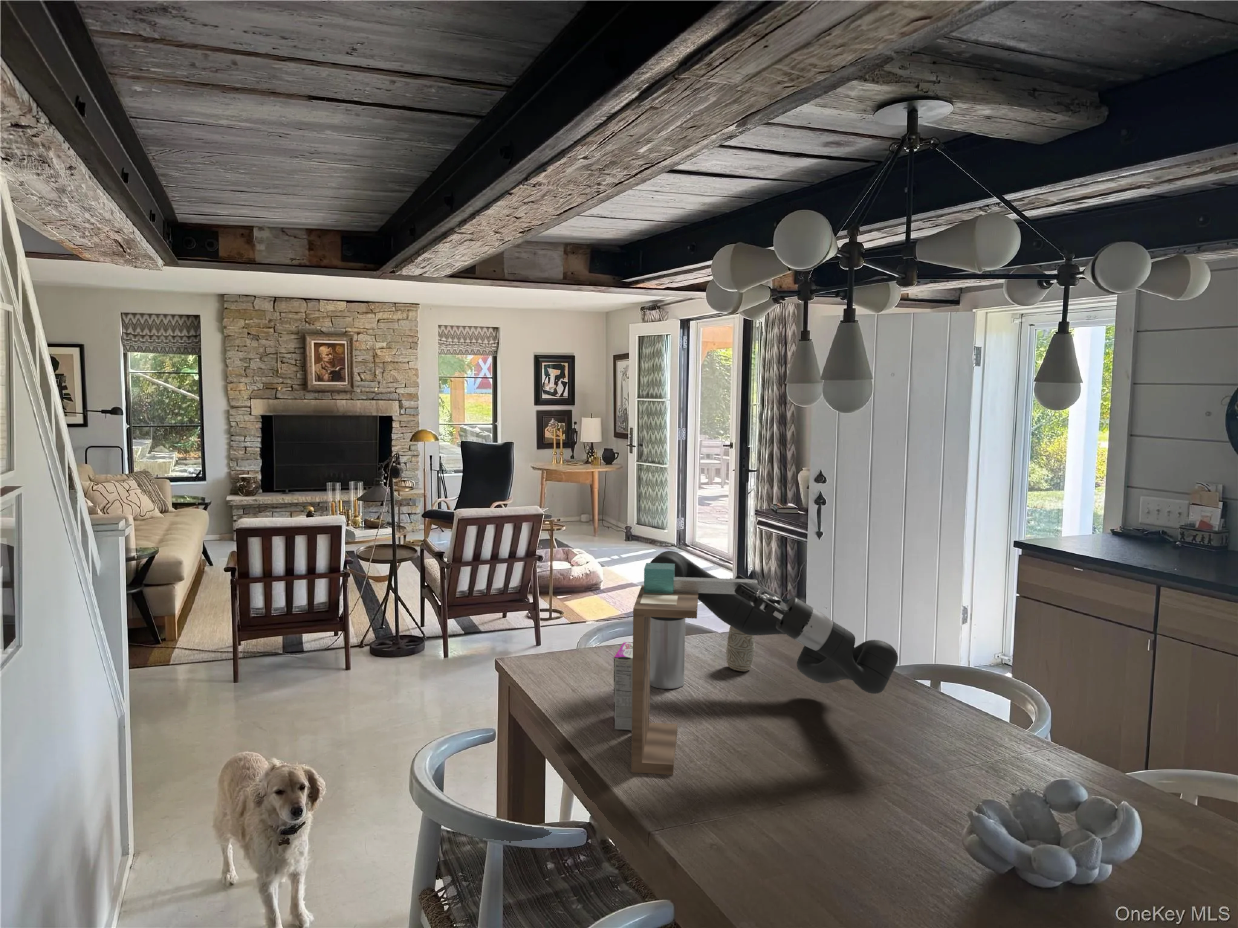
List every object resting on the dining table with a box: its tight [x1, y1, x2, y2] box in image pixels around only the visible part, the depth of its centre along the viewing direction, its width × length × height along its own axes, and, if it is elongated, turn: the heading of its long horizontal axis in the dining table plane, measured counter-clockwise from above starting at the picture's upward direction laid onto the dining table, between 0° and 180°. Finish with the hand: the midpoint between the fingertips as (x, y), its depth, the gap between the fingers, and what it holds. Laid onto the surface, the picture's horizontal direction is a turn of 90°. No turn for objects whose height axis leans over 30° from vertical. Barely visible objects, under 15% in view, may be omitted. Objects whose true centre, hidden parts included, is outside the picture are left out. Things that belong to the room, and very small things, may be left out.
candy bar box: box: [613, 641, 633, 732], centre depth 183 cm, size 11×5×16 cm, turn 168°
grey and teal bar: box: [643, 562, 759, 594], centre depth 171 cm, size 6×23×5 cm, turn 84°
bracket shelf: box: [630, 584, 699, 776], centre depth 167 cm, size 20×12×32 cm, turn 174°
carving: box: [725, 625, 756, 673], centre depth 220 cm, size 6×8×12 cm
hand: (735, 582), depth 170 cm, fingers open, 8 cm apart
